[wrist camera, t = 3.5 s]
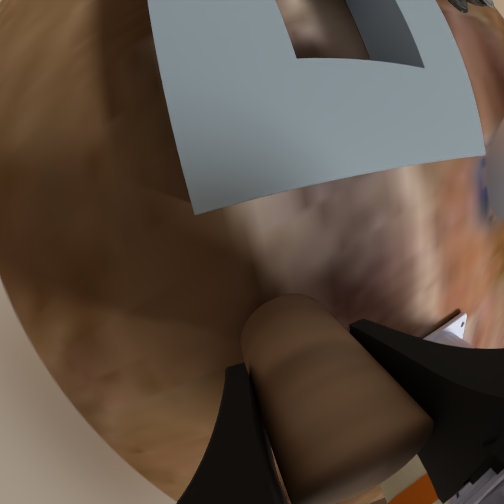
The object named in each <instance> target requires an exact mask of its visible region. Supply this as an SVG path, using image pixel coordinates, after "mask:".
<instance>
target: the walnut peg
mask: <svg viewBox="0 0 504 504" xmlns="http://www.w3.org/2000/svg"><path fill="white" fill-rule="evenodd" d="M240 348H241V352H242V355H243V359H244V362H245V365H246V368H247V371H248V374H249V377H250V380H251V384H252V387H253V390H254V393H255V397H256V401H257V404H258V408H259V411H260V414H261V417H262V420H263V423H264V426H265V429H266V433H267V436H268V439H269V442H270V445H271V447H272V450H273V453H274V456H275V459H276V462H277V465H278V468H279V471H280V473H281V476H282V479H283V482H284V485H285V487H286V490H287V493H288V496H289V498H290V501H291V503H292V504H336V503H340V502H342V501H345V500H348V499H351V498H353V497H355V496H358V495H360V494H362V493H364V492H366V491H368V490H370V489H372V488H373V487H375V486H377V485H379V484H380V483H382V482H383V481H385V480H387V479H388V478H389V477H391V476H392V475H394V474H395V473H396V472H398V471H399V470H400V469H401V468H403V467H404V466H405V465H406V464H407V463H408V462H409V461H410V460H411V459H412V458H413V457H414V456H415V455H416V454H417V453H418V452H419V451H420V450H421V449H422V447H423V446H424V445H425V444H426V442H427V441H428V439H429V437H430V436H431V434H432V431H433V428H434V421H433V419H432V418H431V417H430V416H429V415H428V414H427V413H426V412H425V411H424V410H423V409H422V408H421V407H420V406H419V404H418V403H417V402H416V401H415V400H414V399H413V398H412V397H411V396H410V395H409V394H408V393H407V392H406V391H405V390H404V389H403V388H402V387H401V386H400V384H399V383H398V382H397V381H396V380H395V379H394V378H393V377H392V376H391V375H390V374H389V373H388V372H387V371H386V370H385V369H384V368H383V367H382V366H381V365H380V364H379V363H378V362H377V361H376V360H375V358H374V357H373V356H372V355H371V354H370V353H369V352H368V351H367V350H366V349H365V348H364V347H363V346H362V345H361V344H360V343H359V342H358V341H357V340H356V339H355V338H354V337H353V336H352V335H351V334H350V333H349V332H348V331H347V330H346V329H345V328H344V327H343V326H342V325H341V324H340V323H339V322H338V321H337V319H336V318H335V317H334V316H333V315H332V314H331V313H330V312H329V311H328V310H327V309H326V308H325V307H324V306H323V305H322V304H321V303H319V302H318V301H317V300H315V299H314V298H311V297H309V296H305V295H300V294H289V295H283V296H280V297H276V298H274V299H271V300H270V301H268V302H266V303H264V304H263V305H261V306H260V307H259V308H257V309H256V310H255V311H254V312H253V313H252V314H251V315H250V317H249V318H248V319H247V321H246V323H245V325H244V327H243V329H242V332H241V336H240Z"/></svg>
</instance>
